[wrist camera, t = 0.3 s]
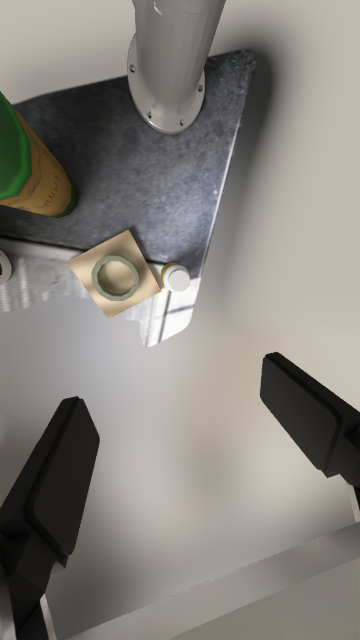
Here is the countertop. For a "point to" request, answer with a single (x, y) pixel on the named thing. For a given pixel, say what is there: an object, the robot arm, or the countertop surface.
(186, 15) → the robot arm
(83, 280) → the collar holder
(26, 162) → the bottle
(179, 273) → the supplement bottle
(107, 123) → the countertop surface
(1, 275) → the supplement can
